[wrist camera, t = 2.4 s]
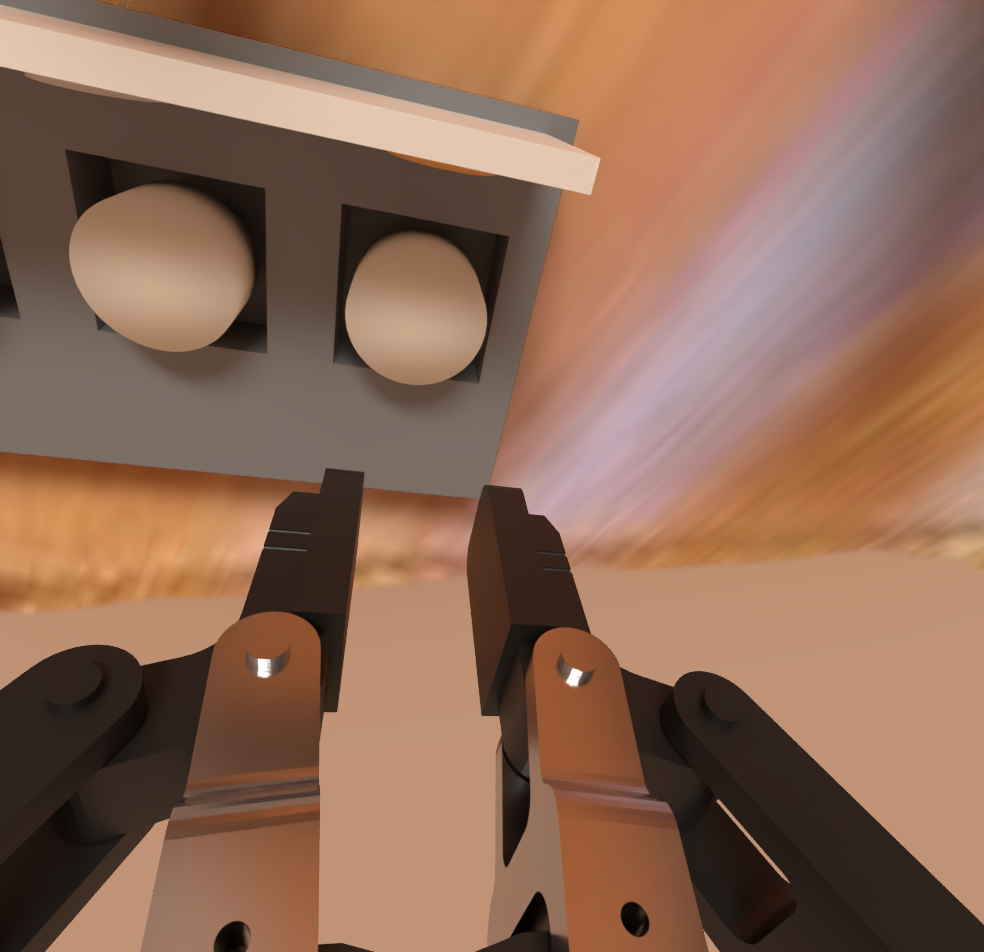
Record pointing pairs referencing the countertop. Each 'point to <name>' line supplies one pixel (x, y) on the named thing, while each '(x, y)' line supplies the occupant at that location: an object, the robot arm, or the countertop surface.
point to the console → (259, 247)
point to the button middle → (164, 264)
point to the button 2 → (416, 307)
